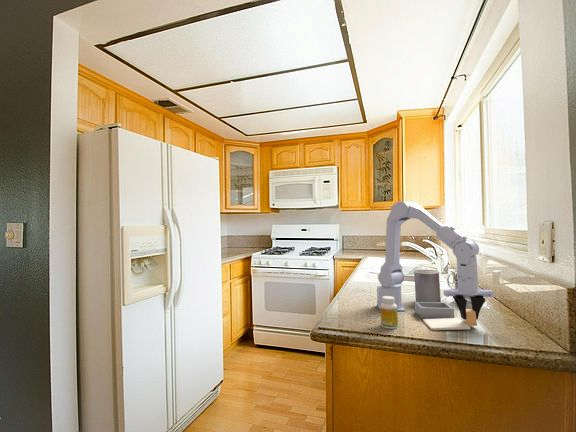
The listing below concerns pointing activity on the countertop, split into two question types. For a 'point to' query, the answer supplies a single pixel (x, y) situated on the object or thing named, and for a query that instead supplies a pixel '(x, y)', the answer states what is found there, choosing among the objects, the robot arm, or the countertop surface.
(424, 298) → the pillar candle
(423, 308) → the tub
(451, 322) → the lid
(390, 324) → the supplement bottle
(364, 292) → the countertop surface
